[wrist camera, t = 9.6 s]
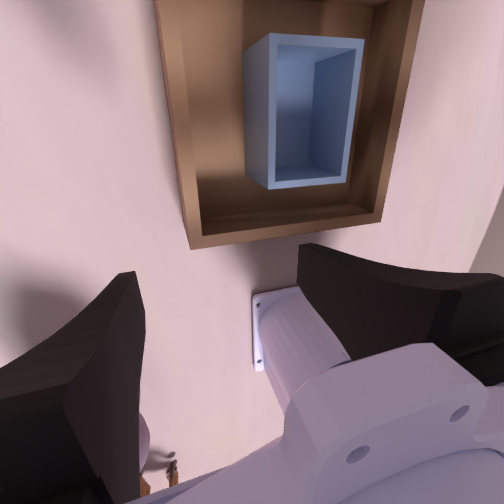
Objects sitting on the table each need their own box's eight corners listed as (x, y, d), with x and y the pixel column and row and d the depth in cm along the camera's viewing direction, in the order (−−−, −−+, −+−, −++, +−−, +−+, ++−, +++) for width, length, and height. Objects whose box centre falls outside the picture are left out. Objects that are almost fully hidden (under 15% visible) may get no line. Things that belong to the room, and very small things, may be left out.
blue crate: (309, 170, 21) (345, 182, 17) (245, 174, 19) (267, 189, 15) (318, 56, 17) (364, 39, 14) (242, 52, 16) (269, 32, 12)
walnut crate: (348, 207, 24) (380, 222, 21) (184, 227, 20) (190, 250, 17) (378, -4, 18) (431, -32, 14) (149, -29, 14) (148, -76, 11)
